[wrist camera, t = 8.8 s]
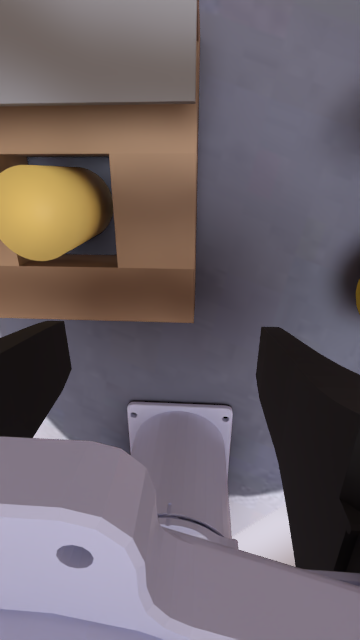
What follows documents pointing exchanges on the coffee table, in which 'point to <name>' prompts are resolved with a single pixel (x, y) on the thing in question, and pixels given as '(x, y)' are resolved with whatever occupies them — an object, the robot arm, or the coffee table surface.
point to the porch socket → (107, 149)
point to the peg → (51, 209)
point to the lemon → (358, 296)
